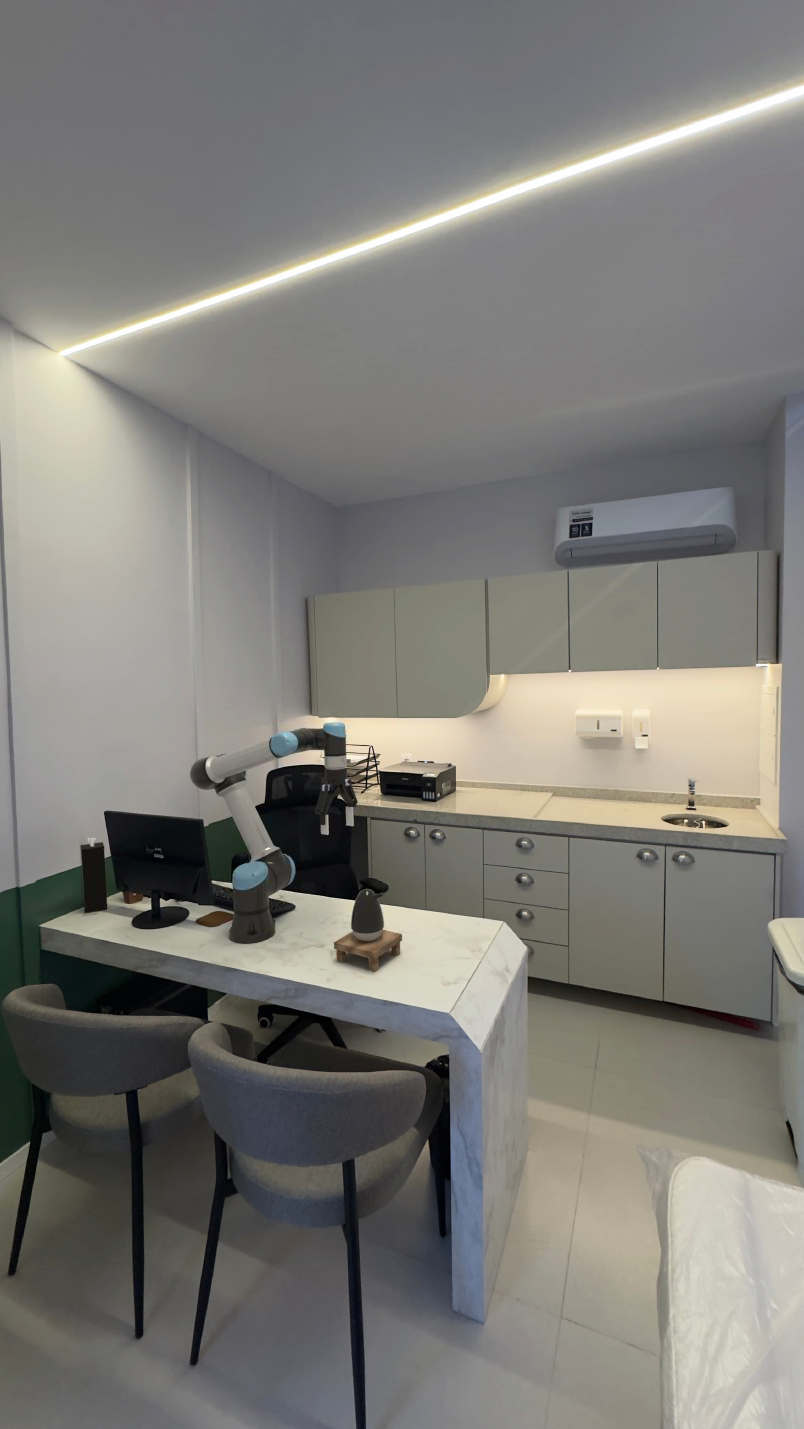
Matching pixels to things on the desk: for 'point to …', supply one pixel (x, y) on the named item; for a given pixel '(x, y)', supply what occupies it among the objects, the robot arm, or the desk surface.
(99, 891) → the tissue box
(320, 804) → the robot arm
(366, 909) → the pump dispenser
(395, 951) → the walnut footstool
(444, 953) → the desk surface
